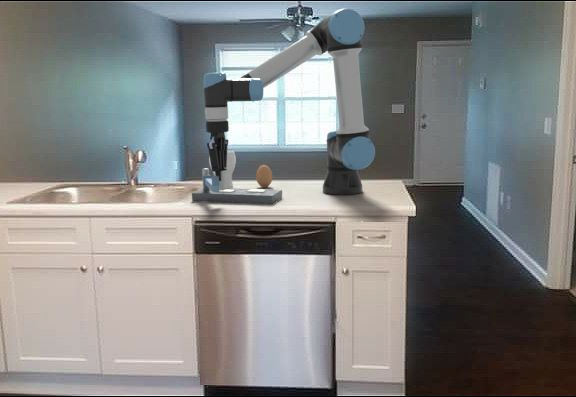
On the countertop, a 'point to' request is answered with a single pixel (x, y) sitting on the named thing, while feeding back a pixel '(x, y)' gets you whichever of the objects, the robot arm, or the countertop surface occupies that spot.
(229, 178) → the cup
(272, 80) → the robot arm
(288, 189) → the countertop surface
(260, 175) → the egg
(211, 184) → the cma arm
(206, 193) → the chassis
